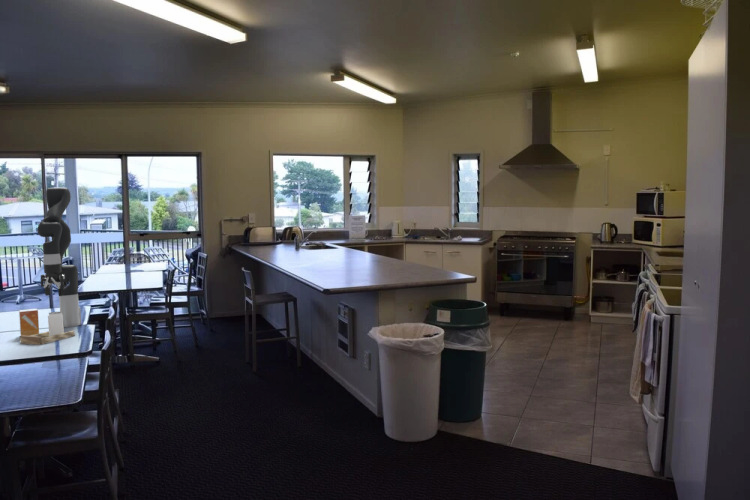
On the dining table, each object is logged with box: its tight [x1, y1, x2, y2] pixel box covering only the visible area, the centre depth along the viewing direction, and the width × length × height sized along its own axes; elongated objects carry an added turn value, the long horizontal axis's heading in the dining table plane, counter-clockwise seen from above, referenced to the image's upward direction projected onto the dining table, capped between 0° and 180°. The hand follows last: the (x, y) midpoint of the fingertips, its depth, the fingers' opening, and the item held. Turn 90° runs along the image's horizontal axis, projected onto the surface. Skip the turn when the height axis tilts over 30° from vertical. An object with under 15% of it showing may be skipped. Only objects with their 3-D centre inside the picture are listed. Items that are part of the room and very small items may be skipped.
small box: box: [18, 308, 40, 336], centre depth 298 cm, size 8×6×13 cm
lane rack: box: [19, 330, 75, 346], centre depth 287 cm, size 20×12×4 cm, turn 160°
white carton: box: [47, 311, 65, 336], centre depth 292 cm, size 6×6×12 cm
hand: (54, 295), depth 291 cm, fingers open, 8 cm apart
